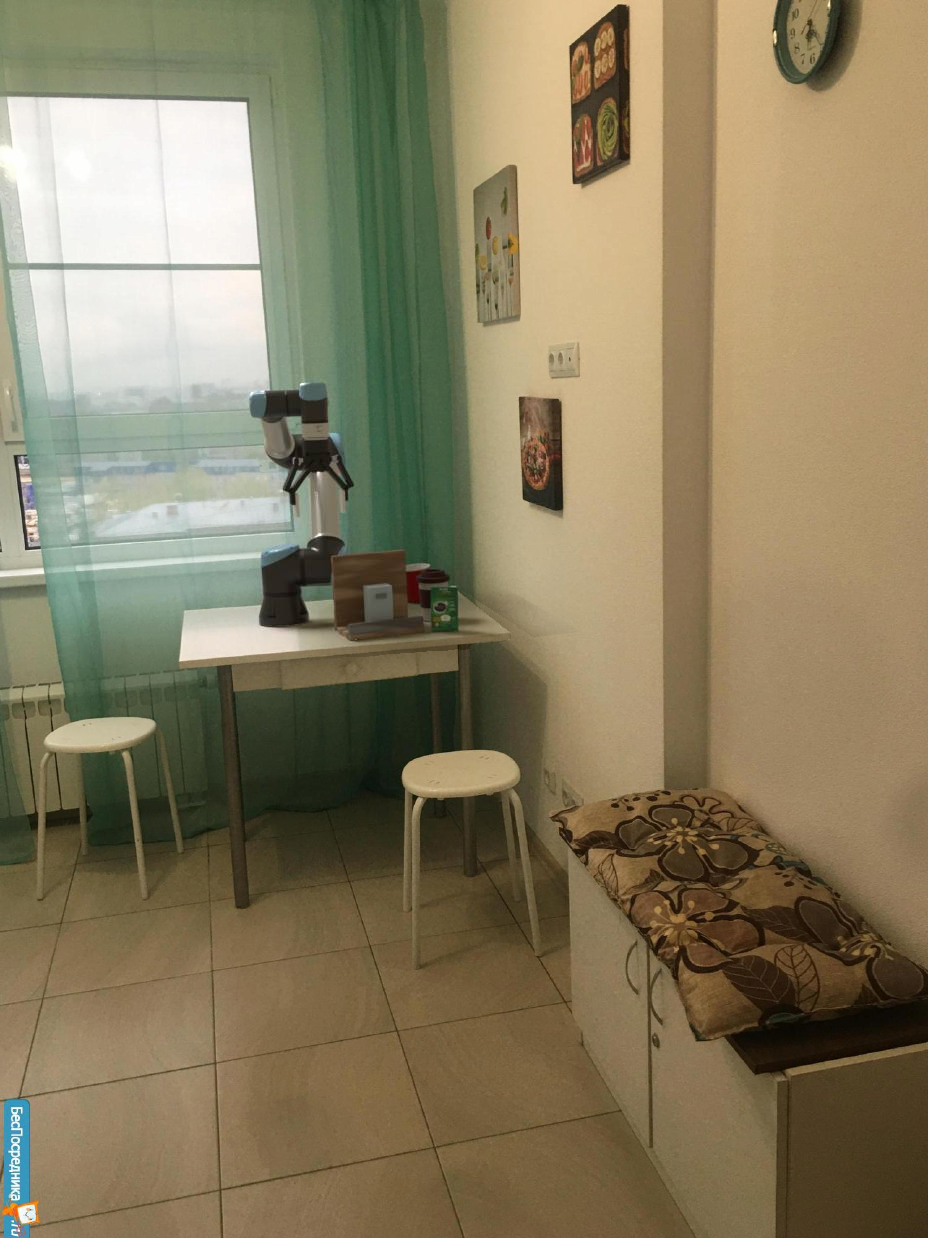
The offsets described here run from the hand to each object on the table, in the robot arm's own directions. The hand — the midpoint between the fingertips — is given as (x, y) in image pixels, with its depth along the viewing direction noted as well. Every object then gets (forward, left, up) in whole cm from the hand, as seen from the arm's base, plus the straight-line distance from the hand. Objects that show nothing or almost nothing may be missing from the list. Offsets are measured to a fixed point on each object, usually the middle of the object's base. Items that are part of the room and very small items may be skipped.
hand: (320, 514), depth 309 cm
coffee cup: (-1, +34, -34) cm, 48 cm away
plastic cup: (-31, +39, -34) cm, 60 cm away
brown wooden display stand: (+6, +14, -34) cm, 37 cm away
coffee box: (+15, +31, -34) cm, 49 cm away
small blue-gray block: (+7, +14, -33) cm, 36 cm away
